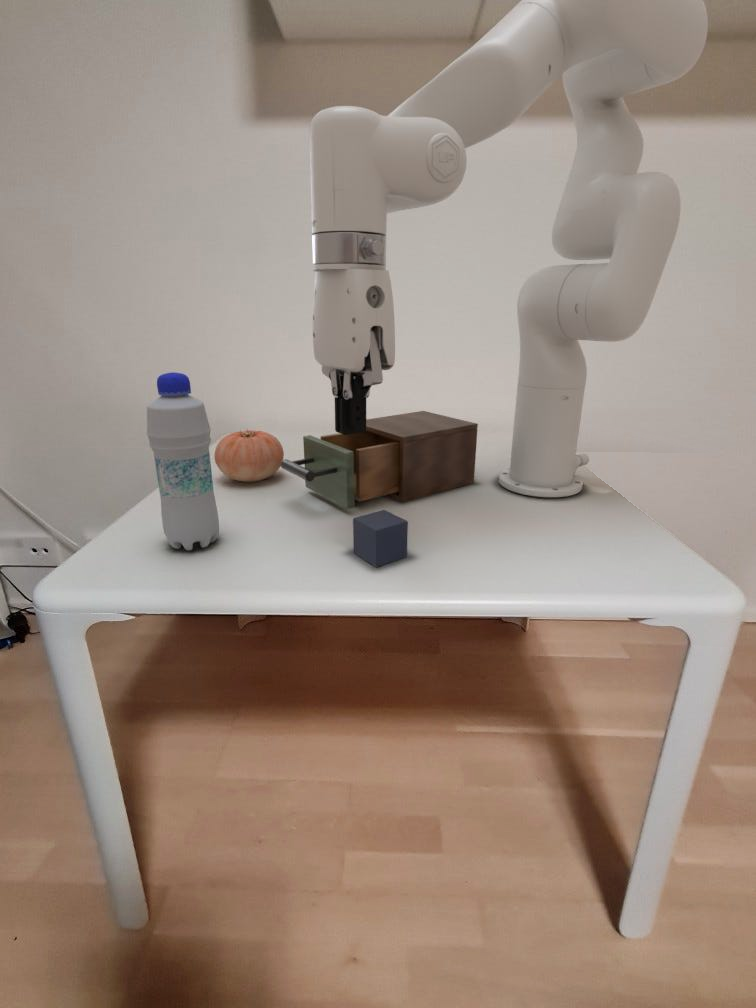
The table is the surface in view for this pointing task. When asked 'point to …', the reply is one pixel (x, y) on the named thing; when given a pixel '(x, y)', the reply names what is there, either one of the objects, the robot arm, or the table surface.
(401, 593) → the table surface
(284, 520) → the table surface
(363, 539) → the block
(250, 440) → the orange pumpkin
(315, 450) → the drawer
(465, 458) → the cabinet
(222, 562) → the table surface
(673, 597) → the table surface
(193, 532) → the bottle
